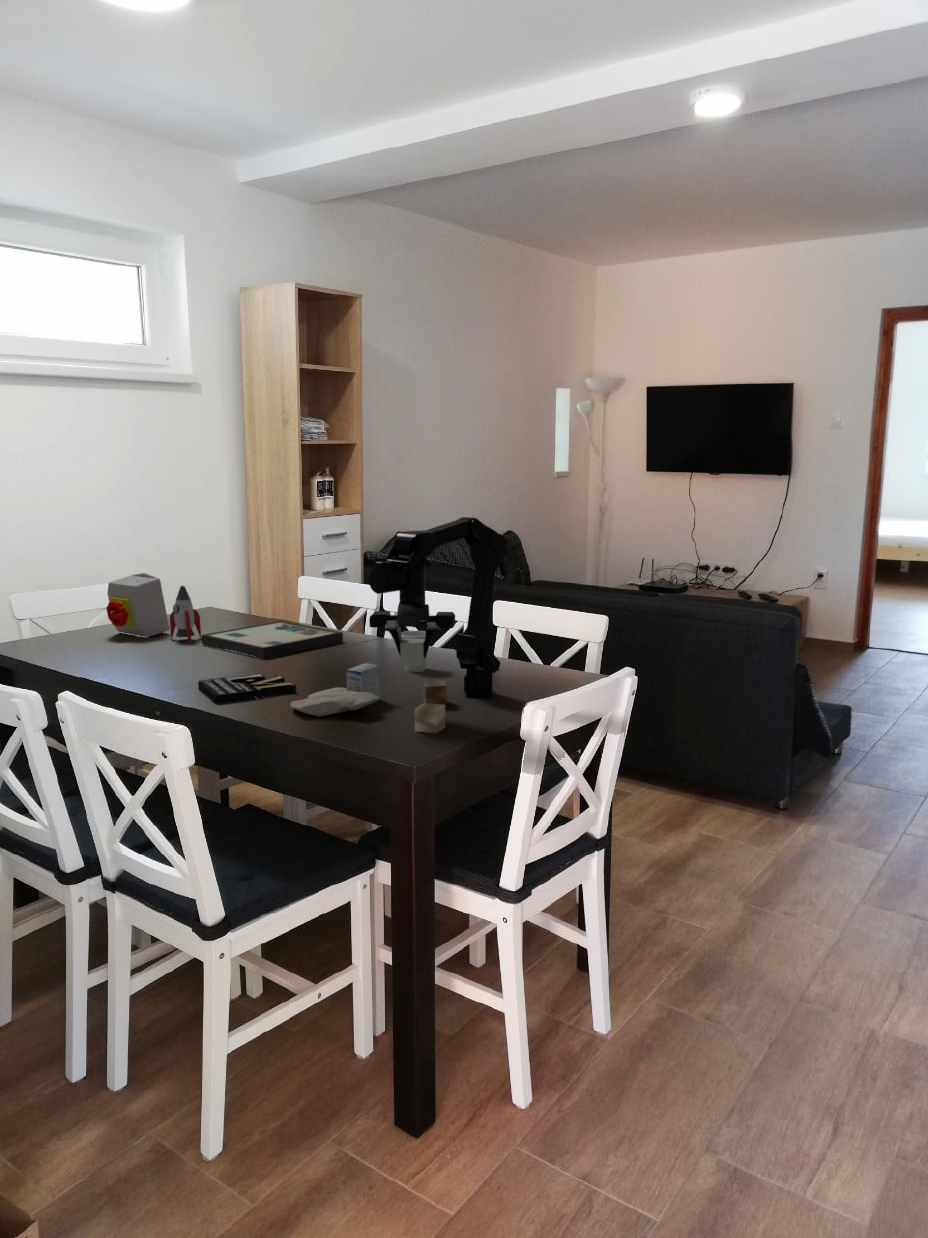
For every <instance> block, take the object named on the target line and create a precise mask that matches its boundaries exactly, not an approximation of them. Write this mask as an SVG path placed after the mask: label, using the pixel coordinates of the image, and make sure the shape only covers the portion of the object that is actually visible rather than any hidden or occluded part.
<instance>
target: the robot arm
mask: <svg viewBox="0 0 928 1238" xmlns="http://www.w3.org/2000/svg"><path fill="white" fill-rule="evenodd" d="M457 540H463V542H464V543H465V544H466V546H468V547H469V548H470V549H469V551H470V555H469V556H470V559H471V562H472V564H473V568H474V573H473V581H472V588H471V593H470V595H471V596H470V602H469V611H468V612H469V613H468V617H467V625H466V628H465V630H464V631H463V632H462V633H457V635H456V644H455V648H454V651H456V652H455V656H456V658H457V660H458V663H459V667H460V669H461V670H462V669H463V670H466V672H465V674H464V676H463V693H464V694H465V697H466V698H493V696H494V688H493V687H494V686H493V685H494V684H493V683H494V678H493V677H494V674H495V673H496V672H498V671H500V666H501V661H500V660H499V659H498V657H496V656H495V653H493V641H492V639H491V635H490V634H489V633H490V632H489V629H488V627H489V623H490V622H489V621H490V614H491V607H492V600H493V590H494V585H495V578H496V576H495V575H496V571H497V570H498V568H499V567H500V565H501V564H502V563H503V561H504V558H505V554H506V551H507V550H506V549H507V540H506V539H505V537H504V535H502V534H501V533H498V532H497V531H496V530H494V529H492V528H491V527H489V526H487V525H486V524H484V523H483V522H482V521H480V519H478V518H477V517H471V516H470V517H469V516H467V517H466V516H462V517H460V518H458V519H455V520H452V521H450V522H446V523H444V524H441V525H437V526H434V527H432V528H428V529H425V530H406V531H400V532H399V533H397V534H396V537H395V539H394V542H393V544H392V546H391V548H390V550H389V552H388V554H387V555H386V557H385V560H384V561H376V562H374V568H372V570H371V571H370V573H369V576H368V584H369V586H370V589H371V590H372V592H374V593H375V594H377V595H378V594H379V595H380V594H387V593H393V592H399V603H398V605H397V611H396V614H391V611H390V610H389V611H388V610H387V611H385V610H375V611H374V612H373V613H372V614H371V615H369V627H370V628H382V629H383V630H384V631H385V632H388V633H389V635H391V638H392V639H393V641H394V644H395V647H396V649H397V653H398V655H399V657H400V658H401V651H400V643H401V642H402V636H401V632H402V628H404V627H405V628H406V627H412V628H419V627H420V625H423V624H424V625H425V624H426V626H427V627H426V628H425V631H426V635H425V644H424V658H426V656H427V657H428V652H429V648H430V646H431V643H432V640H433V637H434V635H435V633H438V632H440V630H441V629H453V628H454V627H455V625H456V614H455V613H454V612H453V611H437V613H435V615H430V606H429V603H428V604H426V568H432V567H433V564H432V562H431V561H429V560H428V559H427V557H429V556H430V555H431V554H433V553H434V551H435V550H436V549H437V548H438V547H441V546H444V545H446V544H449V543H450V544H451V543H453V542H455V541H457Z"/></svg>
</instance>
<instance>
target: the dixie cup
mask: <svg viewBox="0 0 928 1238" xmlns="http://www.w3.org/2000/svg"><path fill="white" fill-rule="evenodd" d="M425 635H426V630H407V631H401V636H402V640H403V639H425ZM427 659H428V655H427V656H426V661H425V663H424V664H423V665H403V667H404V671H406V672H409V673H419V672H420V673H421V672H424V671H426V667H427Z"/></svg>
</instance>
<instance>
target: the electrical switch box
mask: <svg viewBox="0 0 928 1238" xmlns="http://www.w3.org/2000/svg"><path fill="white" fill-rule="evenodd" d="M107 586H108V587H107V593H106V594H107V597H108V598H107V599H108V604H107V606H106V614H107V618H108V621H109V622H111V624H112V625H113V626H114V627H115V629H116V631H117V632H118V631H119V632H124V633H129V634H134V635H139V636H145V637H147V636H152V637H154V636H153V635H155V636H157V635H161V634H162V633H165V632H168V631H169V630H170V623H169V619H168V613H167V609H166V603H165V599H164V593H163V589H162V587H163V586H162V583H161V580H160V578H159V577H156V576H154V575H151V574H149V573H146V572H142V573H137V574H131V575H128V576H125V577H121V578H119V579H115V580H113V581H110V582H108V585H107ZM119 632H118V633H119Z"/></svg>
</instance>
